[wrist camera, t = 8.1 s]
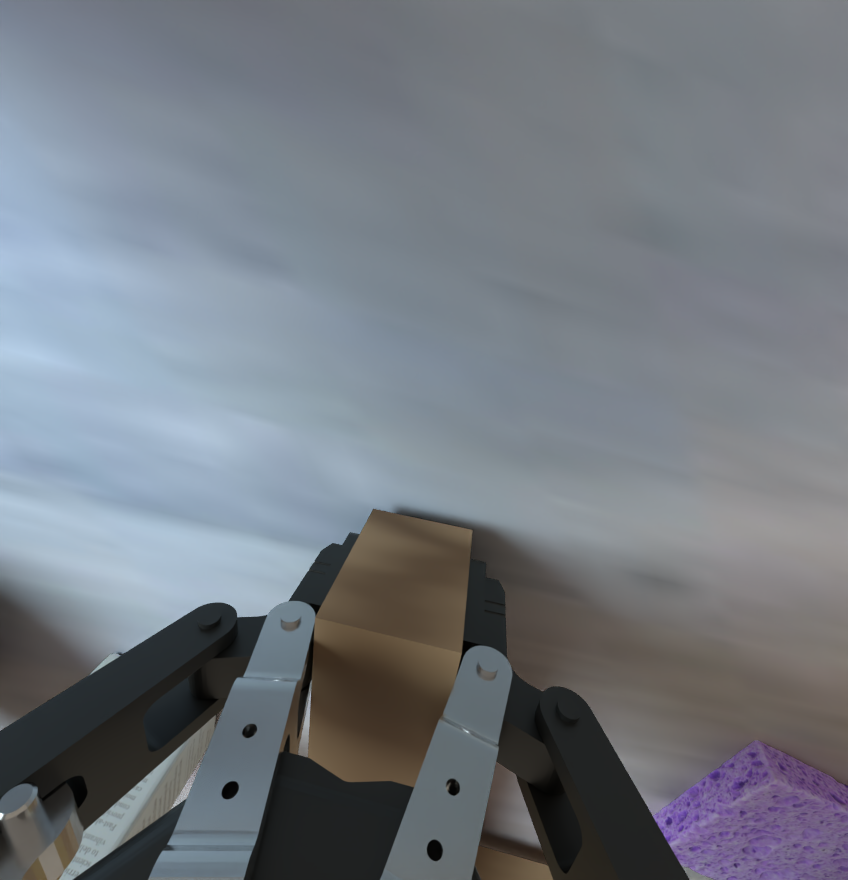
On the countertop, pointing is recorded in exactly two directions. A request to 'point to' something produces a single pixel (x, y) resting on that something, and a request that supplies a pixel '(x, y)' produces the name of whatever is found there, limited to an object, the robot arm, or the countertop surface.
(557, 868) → the robot arm
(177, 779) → the skincare box
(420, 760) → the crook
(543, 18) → the countertop surface
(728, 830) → the sponges
